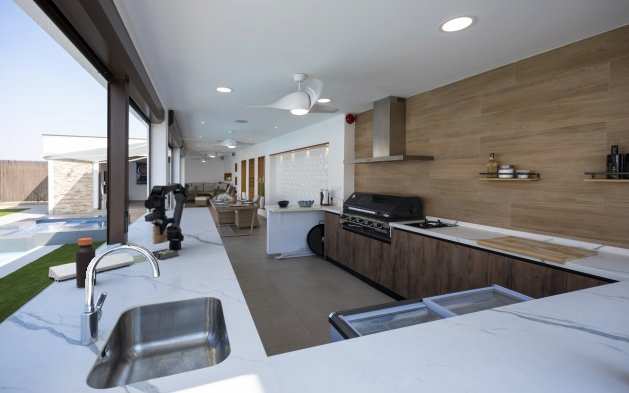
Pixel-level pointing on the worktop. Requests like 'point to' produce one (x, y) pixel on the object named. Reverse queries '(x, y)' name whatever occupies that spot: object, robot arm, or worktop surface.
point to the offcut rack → (165, 256)
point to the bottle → (84, 260)
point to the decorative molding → (105, 264)
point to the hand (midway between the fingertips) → (160, 234)
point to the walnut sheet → (157, 237)
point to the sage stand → (139, 259)
